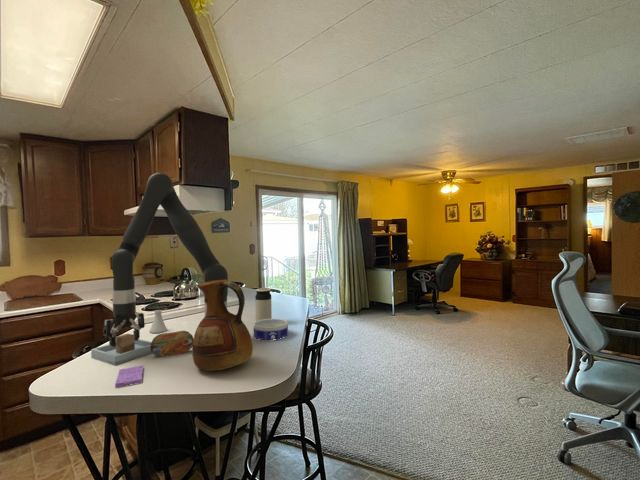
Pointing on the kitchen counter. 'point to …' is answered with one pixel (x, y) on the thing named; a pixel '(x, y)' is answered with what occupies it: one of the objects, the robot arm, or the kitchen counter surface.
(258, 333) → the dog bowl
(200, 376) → the kitchen counter surface
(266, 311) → the travel mug
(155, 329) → the flask
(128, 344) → the walnut block
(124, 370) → the sponges
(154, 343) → the tin
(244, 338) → the ceramic pitcher
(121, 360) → the tray
